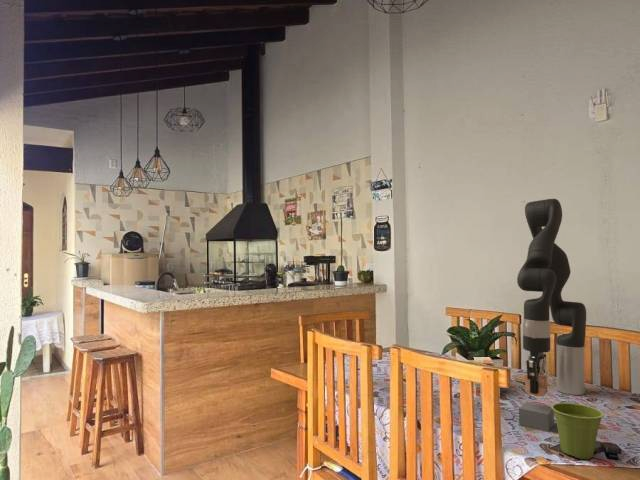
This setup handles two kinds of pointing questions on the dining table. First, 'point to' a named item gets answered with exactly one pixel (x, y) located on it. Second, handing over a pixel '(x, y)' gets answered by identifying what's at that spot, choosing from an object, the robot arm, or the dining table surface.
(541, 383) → the terracotta cube
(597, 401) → the dining table surface
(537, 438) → the dining table surface
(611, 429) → the dining table surface
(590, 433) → the plant pot
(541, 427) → the grey base block
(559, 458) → the dining table surface
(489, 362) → the stack of blocks
